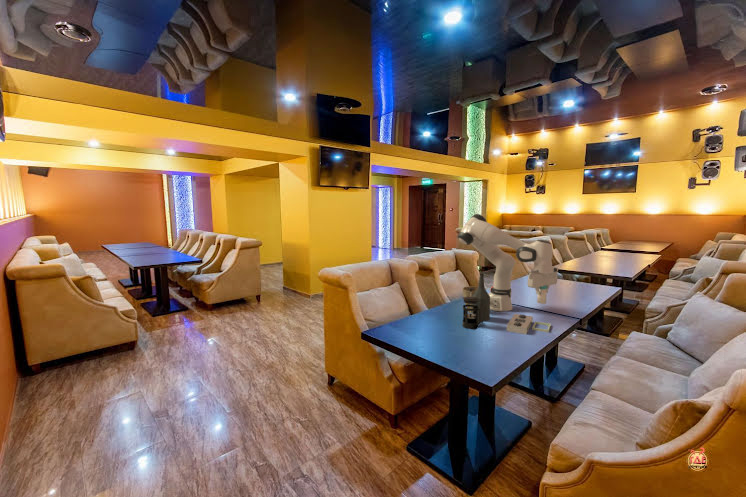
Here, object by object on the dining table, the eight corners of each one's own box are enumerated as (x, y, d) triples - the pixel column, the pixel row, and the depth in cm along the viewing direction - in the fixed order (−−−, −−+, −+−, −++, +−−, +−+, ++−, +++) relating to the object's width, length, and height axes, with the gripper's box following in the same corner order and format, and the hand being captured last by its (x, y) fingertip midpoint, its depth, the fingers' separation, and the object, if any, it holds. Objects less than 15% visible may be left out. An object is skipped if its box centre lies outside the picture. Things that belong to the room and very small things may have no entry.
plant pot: (457, 310, 222) (458, 287, 220) (476, 307, 226) (476, 285, 224) (470, 316, 208) (470, 292, 206) (490, 313, 212) (490, 290, 210)
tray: (532, 332, 179) (532, 327, 179) (535, 325, 189) (535, 321, 189) (548, 335, 175) (548, 330, 174) (550, 328, 184) (550, 323, 184)
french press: (458, 325, 192) (458, 288, 189) (467, 322, 198) (467, 285, 195) (475, 331, 183) (476, 291, 180) (484, 327, 189) (485, 288, 186)
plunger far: (519, 321, 190) (519, 315, 189) (520, 319, 192) (520, 314, 192) (524, 322, 188) (525, 316, 188) (525, 320, 191) (525, 315, 190)
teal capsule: (542, 304, 177) (543, 286, 176) (535, 302, 181) (535, 284, 180) (548, 303, 179) (549, 285, 178) (540, 301, 183) (541, 283, 182)
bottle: (487, 318, 204) (488, 271, 201) (491, 323, 194) (492, 274, 191) (470, 317, 205) (471, 271, 202) (474, 323, 195) (474, 274, 192)
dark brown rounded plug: (514, 329, 178) (514, 323, 177) (515, 327, 180) (515, 321, 180) (520, 330, 176) (520, 324, 175) (521, 328, 178) (521, 322, 178)
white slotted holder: (526, 337, 172) (526, 328, 172) (506, 333, 178) (506, 324, 178) (532, 324, 191) (532, 316, 190) (514, 321, 196) (514, 313, 196)
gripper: (534, 272, 171) (534, 297, 172) (560, 268, 179) (559, 292, 181) (524, 270, 176) (524, 294, 178) (549, 266, 185) (548, 290, 186)
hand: (542, 293), depth 179 cm, fingers closed on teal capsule, 4 cm apart
